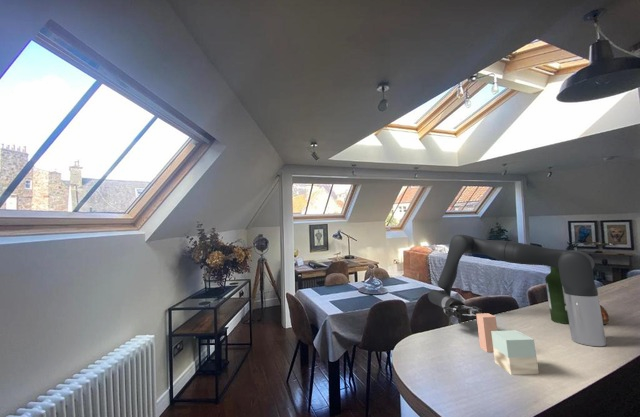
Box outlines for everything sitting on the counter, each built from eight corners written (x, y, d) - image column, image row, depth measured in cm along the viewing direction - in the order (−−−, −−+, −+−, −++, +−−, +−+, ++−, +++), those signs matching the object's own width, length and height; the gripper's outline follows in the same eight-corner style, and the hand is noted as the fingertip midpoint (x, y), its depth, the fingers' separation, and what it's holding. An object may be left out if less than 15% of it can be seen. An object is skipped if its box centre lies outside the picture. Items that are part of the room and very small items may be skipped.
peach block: (480, 347, 99) (476, 313, 101) (492, 346, 99) (488, 313, 101) (487, 352, 95) (482, 317, 96) (500, 351, 95) (495, 316, 96)
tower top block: (493, 346, 88) (491, 331, 89) (518, 346, 88) (516, 330, 88) (508, 357, 80) (506, 340, 81) (536, 356, 80) (533, 339, 80)
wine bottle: (576, 325, 116) (565, 255, 119) (553, 323, 120) (543, 255, 123) (572, 319, 122) (561, 253, 126) (549, 318, 127) (540, 254, 130)
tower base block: (495, 363, 87) (493, 347, 88) (520, 362, 87) (517, 346, 88) (511, 375, 80) (509, 357, 80) (538, 374, 79) (536, 356, 80)
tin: (611, 326, 112) (607, 306, 113) (602, 326, 113) (599, 306, 114) (584, 316, 127) (581, 298, 128) (576, 316, 127) (573, 298, 128)
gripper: (436, 298, 126) (452, 307, 110) (467, 297, 125) (487, 306, 109) (438, 314, 125) (453, 326, 109) (469, 313, 125) (489, 325, 109)
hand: (470, 316), depth 109 cm, fingers open, 8 cm apart
